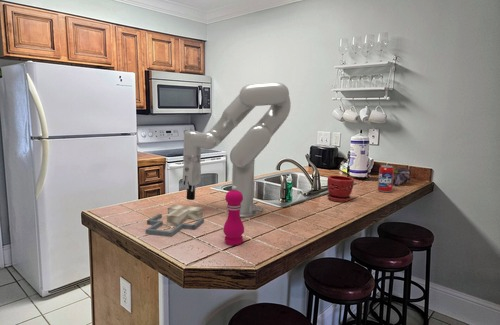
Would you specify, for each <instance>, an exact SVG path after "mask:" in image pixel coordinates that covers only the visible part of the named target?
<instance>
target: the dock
mask: <svg viewBox="0 0 500 325" xmlns="http://www.w3.org/2000/svg"><path fill="white" fill-rule="evenodd" d="M162 216H163V215H162V213H158V214H156V215H155V216H153V217H151V218H149V219H147V221H146V223H147V224H146V225H150V226H149V227H147V228H146V229H145V234H147V235H154V236H155V235H156V236H162V237H168V238H169V237H173V236H174V235H176V234H177V233H179V232H180V231H181V230H183V229H186V230H194V231H195V230H196V229H198V227H200V226H201V225H202V224H204V222H205V218H204V217H202V218H200V219H199V220H196V221H195V223H193V224H192V223H191V224H190V223H181V224H179V225H178V226H174V228H172V229H171V230H162V229H159V228H160V227H162V226H163V224H164V223H163V220H160V219H162V218H163V217H162Z"/></svg>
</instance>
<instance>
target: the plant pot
mask: <svg viewBox="0 0 500 325" xmlns="http://www.w3.org/2000/svg"><path fill="white" fill-rule="evenodd" d="M354 182H355V180H354V178H352V177H349V176H345V175H329V176H328V177H327V183H326V184H327V191H328V193H327V194H326V195H327V196H326V197H327V198H328V199H329V200H330V201H333V202H339V203H343V202H344V203H345V202H348V201H350V200H351V196H350V195H351V194H352V191H353V189H354V188H353V187H354Z"/></svg>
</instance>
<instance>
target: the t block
mask: <svg viewBox="0 0 500 325" xmlns="http://www.w3.org/2000/svg"><path fill="white" fill-rule="evenodd" d="M201 218H204V208H203V207H200V206H188V205H181V204H180V205H179V204H178V205H177V204H172V205H170V206H168V207H167V214H166V226H173V227H177V226H178V225H179V224H181V223H183V224H185V222H187V221H188V220H193V221H198V220H200V219H201Z"/></svg>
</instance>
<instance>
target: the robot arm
mask: <svg viewBox="0 0 500 325" xmlns="http://www.w3.org/2000/svg"><path fill="white" fill-rule="evenodd" d="M291 104H292V103H291V98H290V91H289V88H288V87H287V86H286V85H285V84H284V83H281V82H272V83H271V82H269V83H259V84H258V83H256V84H246V85H245V86H243V87H242V88H241V89H240V91H239V94H238V95H237V96H236V97H235V98H234V99H233V100H232V101H231V102H230V103H229V104H228V106H227V107H226V108H224V110H223V112H222V114H221V117H220V118H219V120H218V121H217V122H216V123H215V124H214V125H213V126H212V127H211V128H210V130H208V131H206V132H200V131H197V130H185V132H183V156H182V157H183V158H182V162H183V167H182V168H183V169H182V184H183V186H184V189H186V200H189V201H194V200H195V199H196V189H197V185H198V184H200V183H201V182H202V181H201V180H202V169H201V168H202V167H201V161H202V160H201V154H202V150H213V149H215V148H216V147H218V146H219V145H220V144H221V143H222V142H223V141H224V140H225V138H228V136H229V135H230V133H232V132H233V130H234V129H236V128H237V127H238V125H239V124H240V123H241V122H243V120H244V119H245V118H246V117H247V116H248V115H249V114H251V112H252V111H253V110H254V109H255V108H256V107H262V106H269V108H268V110H267V111H266V112H264V115H263V116H262V117H261V118H260V119H259V120H258V121H257V122H256V123H255V124H254V125H252V126H251V127H249V129H248V130H247V132H245V134H244V135H243V136H242V137H241V138H240V139H239V141H238V142H237V143H236V144H235V145H234V146H233V147H232V149H231V150H230V152H229V160H230V162H231V164H232V173H231V177H232V178H231V188H232V187H233V186H236V187H237V190H238V191H240V192H241V193H242V195H243V200H242V202H241V203H240V204H241V209H240V218H250V217H251V218H252V217H254V216H256V215H257V213H258V212H259V213H262V212H263V211H264V210H263V209H264V208H263V207H262V206H259V205H256V203H255V202H254V192H255V191H254V188H255V186H254V185H255V161H256V160H255V159H256V158H257V157H258V156H259V155H260V154H261V152H262V151H264V149H265V148H266V147H267V145H269V143H270V142H271V140H272V137H273V136H274V135H275V133H277V131H278V130H279V129H280V128H281V126H282V125H283V124H284V123H285V121H286V120H287V119H288V117H289V114H290V112H291Z"/></svg>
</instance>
